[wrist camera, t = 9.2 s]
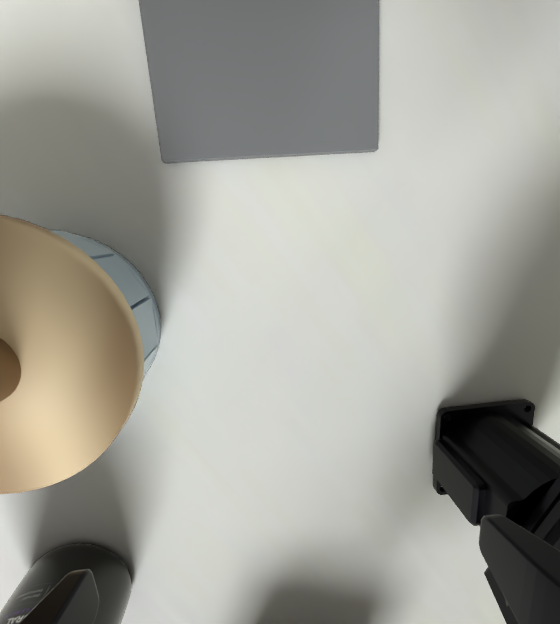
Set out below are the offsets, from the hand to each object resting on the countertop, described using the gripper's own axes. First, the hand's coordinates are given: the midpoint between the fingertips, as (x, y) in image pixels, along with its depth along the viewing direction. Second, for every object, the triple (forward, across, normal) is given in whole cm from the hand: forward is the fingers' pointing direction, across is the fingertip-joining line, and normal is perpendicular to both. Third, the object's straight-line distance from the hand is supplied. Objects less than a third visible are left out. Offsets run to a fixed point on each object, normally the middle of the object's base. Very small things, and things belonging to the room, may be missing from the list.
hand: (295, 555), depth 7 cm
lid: (+7, +11, -3) cm, 14 cm away
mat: (+12, -1, -16) cm, 21 cm away
